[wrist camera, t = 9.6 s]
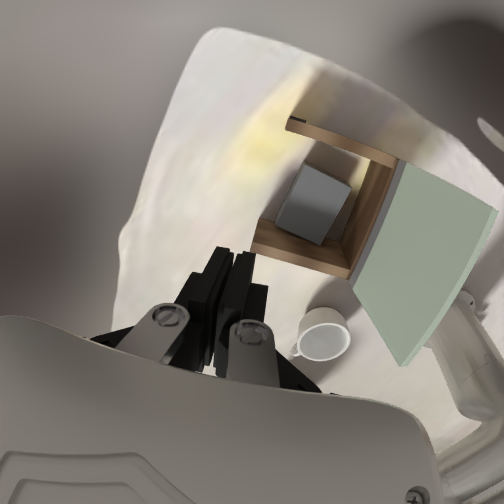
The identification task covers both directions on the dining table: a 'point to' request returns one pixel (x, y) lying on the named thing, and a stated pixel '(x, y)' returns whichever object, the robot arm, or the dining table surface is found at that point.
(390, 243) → the cover
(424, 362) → the dining table surface
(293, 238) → the wooden u-shaped stand
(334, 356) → the teacup
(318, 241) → the slate cuboid
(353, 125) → the dining table surface
